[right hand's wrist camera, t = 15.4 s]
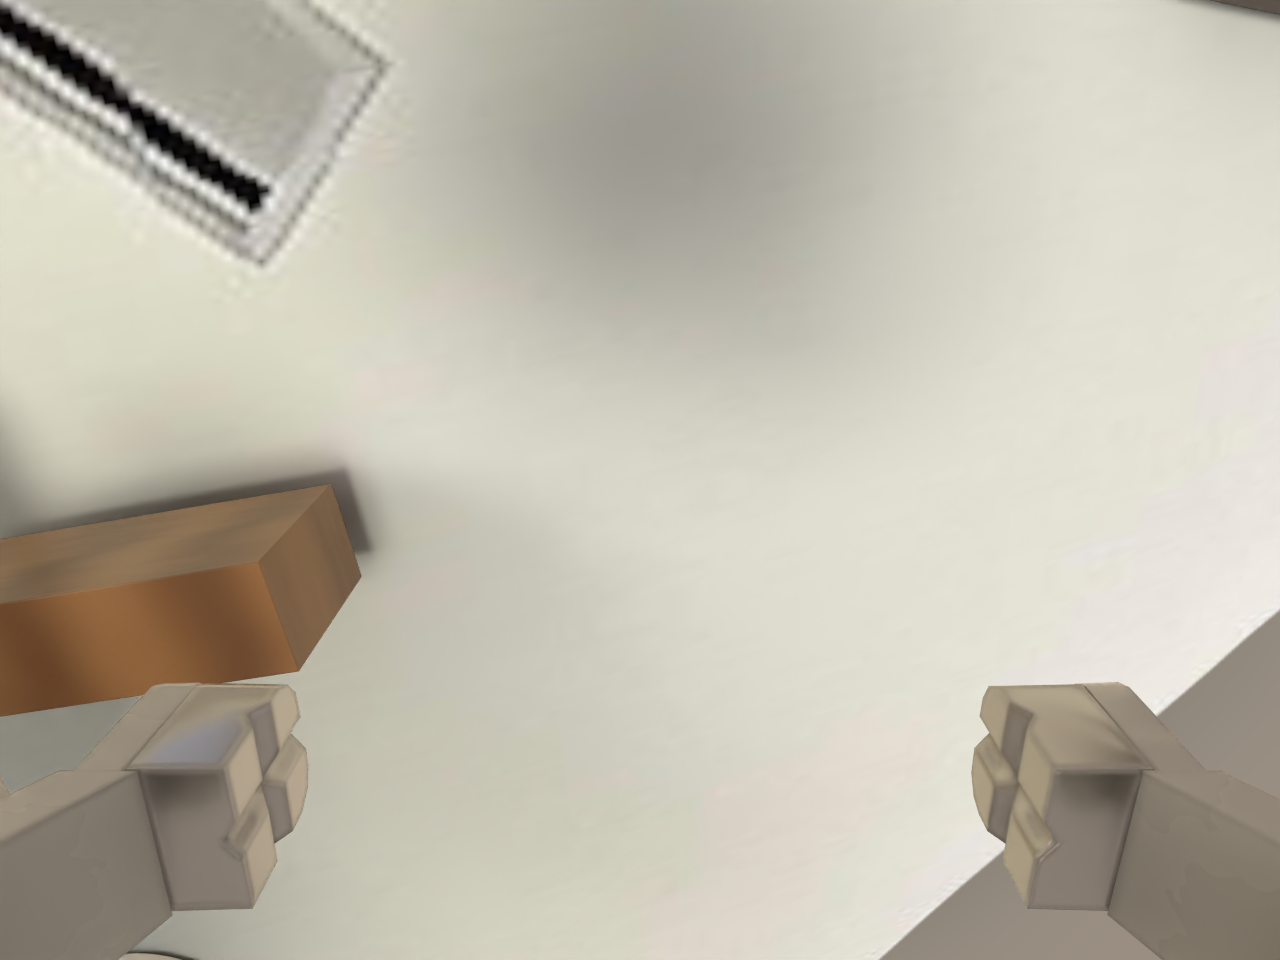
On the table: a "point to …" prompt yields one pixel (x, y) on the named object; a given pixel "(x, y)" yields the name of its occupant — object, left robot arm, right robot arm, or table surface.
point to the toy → (1256, 4)
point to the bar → (170, 598)
